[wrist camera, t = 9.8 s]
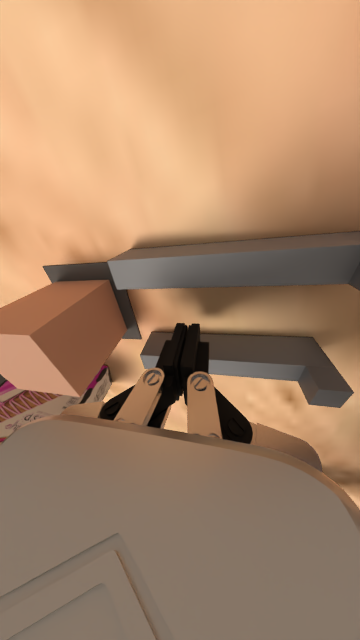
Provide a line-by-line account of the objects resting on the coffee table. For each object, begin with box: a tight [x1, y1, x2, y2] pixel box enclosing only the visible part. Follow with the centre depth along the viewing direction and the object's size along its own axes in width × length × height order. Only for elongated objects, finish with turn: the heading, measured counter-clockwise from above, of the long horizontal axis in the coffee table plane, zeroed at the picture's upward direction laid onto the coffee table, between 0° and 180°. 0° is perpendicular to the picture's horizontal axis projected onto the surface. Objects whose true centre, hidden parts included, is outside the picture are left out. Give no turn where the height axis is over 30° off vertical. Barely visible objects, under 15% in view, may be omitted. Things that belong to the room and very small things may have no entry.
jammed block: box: [0, 280, 127, 397], centre depth 14 cm, size 6×6×8 cm
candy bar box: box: [0, 365, 112, 444], centre depth 19 cm, size 11×5×16 cm, turn 85°
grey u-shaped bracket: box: [107, 231, 360, 408], centre depth 12 cm, size 11×16×6 cm
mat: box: [43, 262, 141, 339], centre depth 17 cm, size 9×8×1 cm
